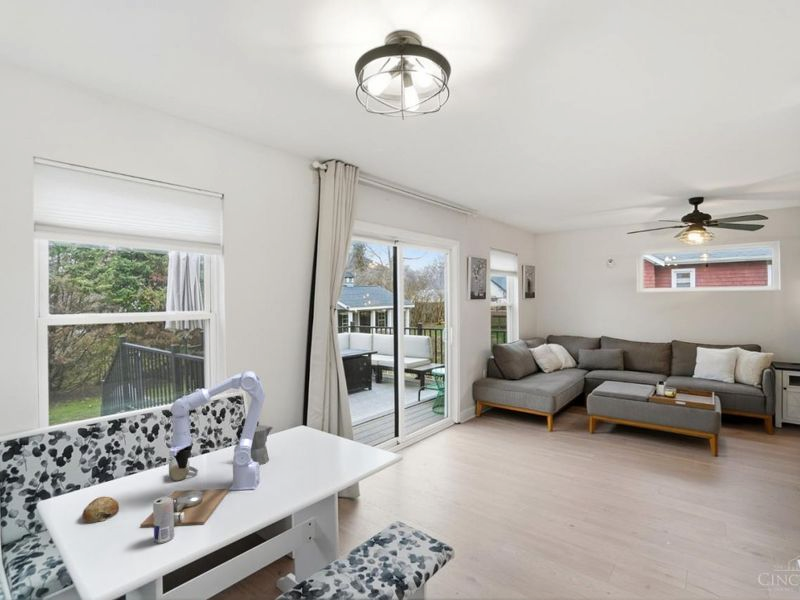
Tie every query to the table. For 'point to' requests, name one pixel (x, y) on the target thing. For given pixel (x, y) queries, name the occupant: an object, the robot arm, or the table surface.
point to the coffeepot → (258, 443)
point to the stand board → (194, 508)
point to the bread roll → (100, 509)
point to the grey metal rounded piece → (187, 500)
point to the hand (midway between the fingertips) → (182, 467)
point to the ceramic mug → (180, 471)
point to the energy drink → (163, 519)
